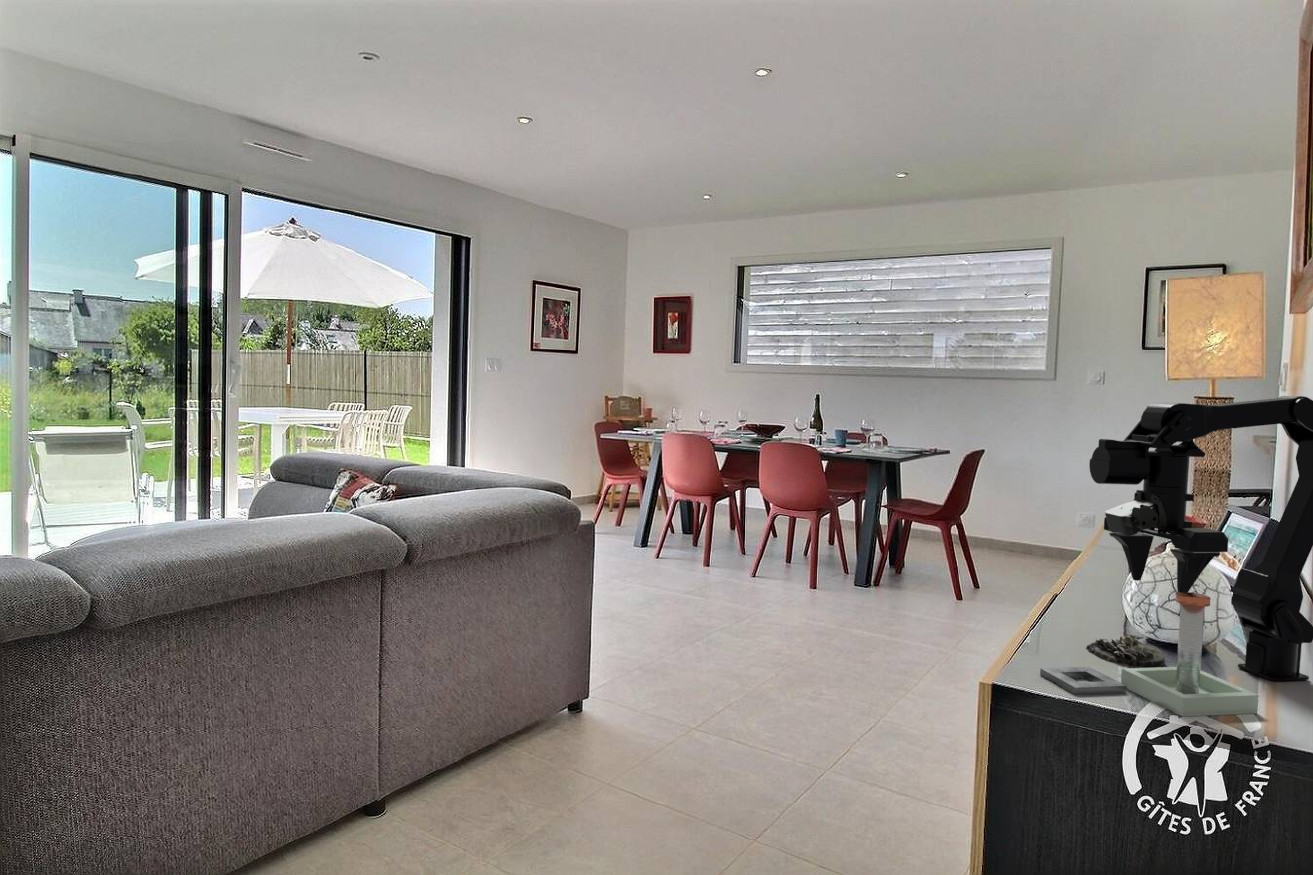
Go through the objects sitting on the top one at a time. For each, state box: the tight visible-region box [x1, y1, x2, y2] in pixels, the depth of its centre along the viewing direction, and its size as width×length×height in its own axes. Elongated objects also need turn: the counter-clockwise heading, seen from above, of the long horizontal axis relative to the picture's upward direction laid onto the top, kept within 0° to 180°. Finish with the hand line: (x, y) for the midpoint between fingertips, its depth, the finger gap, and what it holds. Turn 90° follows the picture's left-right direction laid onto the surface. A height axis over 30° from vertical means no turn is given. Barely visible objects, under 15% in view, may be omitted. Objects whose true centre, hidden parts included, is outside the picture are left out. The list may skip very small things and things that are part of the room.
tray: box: [1120, 666, 1260, 718], centre depth 116 cm, size 11×11×2 cm
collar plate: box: [1039, 666, 1127, 695], centre depth 122 cm, size 8×8×1 cm
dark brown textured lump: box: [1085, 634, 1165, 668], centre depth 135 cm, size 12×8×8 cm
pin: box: [1175, 591, 1211, 694], centre depth 116 cm, size 4×4×14 cm
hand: (1158, 587), depth 127 cm, fingers open, 9 cm apart
